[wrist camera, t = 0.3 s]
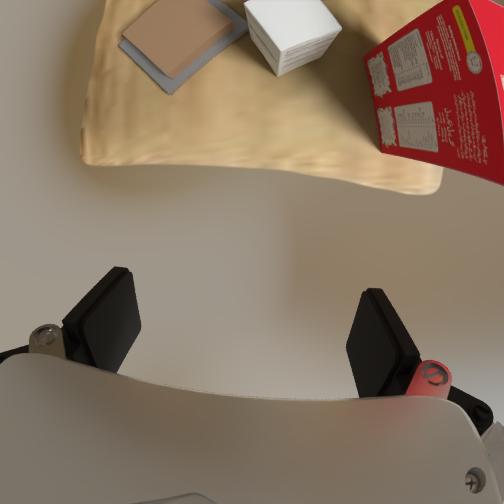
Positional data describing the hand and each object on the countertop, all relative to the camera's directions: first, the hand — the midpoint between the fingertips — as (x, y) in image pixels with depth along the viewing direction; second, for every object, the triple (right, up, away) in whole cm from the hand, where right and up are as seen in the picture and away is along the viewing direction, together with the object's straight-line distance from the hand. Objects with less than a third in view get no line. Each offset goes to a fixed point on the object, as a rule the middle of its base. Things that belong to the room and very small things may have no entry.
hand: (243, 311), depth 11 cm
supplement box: (+5, +30, +20) cm, 36 cm away
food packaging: (+20, +24, +21) cm, 38 cm away
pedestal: (-10, +34, +19) cm, 40 cm away
